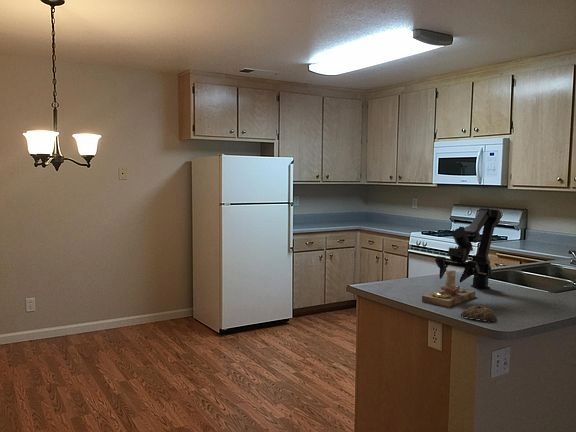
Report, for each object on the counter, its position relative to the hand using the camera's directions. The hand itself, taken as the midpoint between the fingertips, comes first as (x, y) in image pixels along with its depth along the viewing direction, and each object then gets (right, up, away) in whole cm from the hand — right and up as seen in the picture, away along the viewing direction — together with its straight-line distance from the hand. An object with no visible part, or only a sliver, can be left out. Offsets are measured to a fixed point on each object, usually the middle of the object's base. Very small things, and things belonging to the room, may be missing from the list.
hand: (450, 280), depth 218 cm
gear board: (0, -8, +1) cm, 8 cm away
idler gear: (0, -8, +1) cm, 8 cm away
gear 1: (-5, -6, -5) cm, 9 cm away
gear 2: (+5, -6, +6) cm, 10 cm away
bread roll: (+3, -11, -25) cm, 27 cm away
